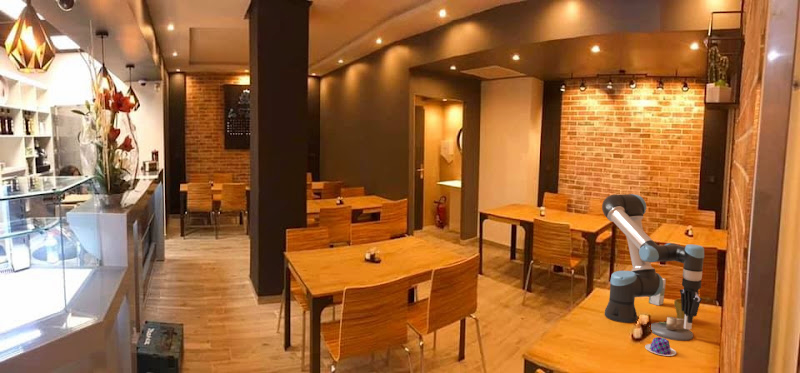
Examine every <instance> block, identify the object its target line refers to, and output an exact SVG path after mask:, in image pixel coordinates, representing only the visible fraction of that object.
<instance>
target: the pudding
mask: <svg viewBox="0 0 800 373" xmlns="http://www.w3.org/2000/svg"><path fill="white" fill-rule="evenodd" d="M670 345H671V344H670V341H669V339H667V338H663V337H660V336H656V337H654V338H652V341H651V343H647V344H645V346H644V348H645V349H646V350H647V351H649V352H651V353H652V354H653V353H654V354H656V355H659V356H665V357H666V356H667V357H670V356H671V357H673V356H675V355H677V351H676V350H675V349H673V348H672V347H671V346H670Z"/></svg>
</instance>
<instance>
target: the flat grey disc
mask: <svg viewBox="0 0 800 373" xmlns="http://www.w3.org/2000/svg"><path fill="white" fill-rule="evenodd" d="M666 324H667V321H658V322H651V330H652V332H651V333H652V334H654V335H656V336H657V337H661V338H665V339H666V340H673V341H679V342H680V341H683V342H684V341H690V340H693V338H694V333H693V331H692V330H691V329H676V330H669V329H667V328H666Z"/></svg>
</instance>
